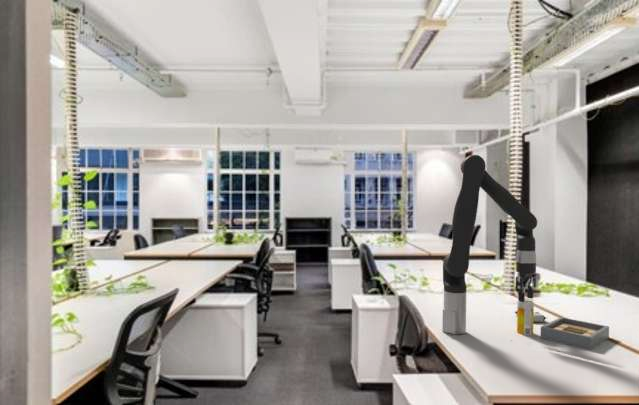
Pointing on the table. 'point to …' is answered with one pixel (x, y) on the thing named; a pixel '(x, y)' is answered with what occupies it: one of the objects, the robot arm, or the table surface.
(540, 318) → the robot toy
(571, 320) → the open-top box
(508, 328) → the table surface
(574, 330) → the plate
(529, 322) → the beer can
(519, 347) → the table surface
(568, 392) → the table surface
